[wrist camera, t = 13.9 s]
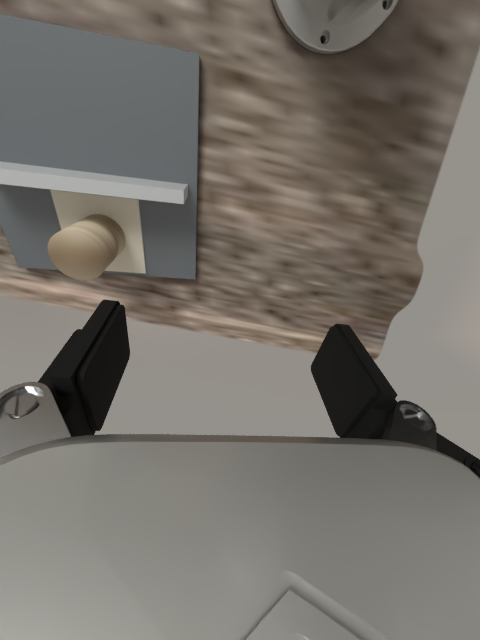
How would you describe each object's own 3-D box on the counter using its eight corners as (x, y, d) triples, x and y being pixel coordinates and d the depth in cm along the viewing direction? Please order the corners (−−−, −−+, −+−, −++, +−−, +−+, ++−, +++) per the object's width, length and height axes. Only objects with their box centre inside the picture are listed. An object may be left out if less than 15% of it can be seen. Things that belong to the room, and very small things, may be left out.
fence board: (-82, 1, 19) (-181, -49, 14) (199, 56, 23) (196, 31, 18) (23, 264, 32) (-11, 285, 27) (195, 276, 35) (192, 297, 30)
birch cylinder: (75, 211, 28) (39, 227, 22) (122, 216, 28) (99, 233, 23) (85, 254, 30) (56, 278, 25) (128, 257, 31) (109, 282, 25)
